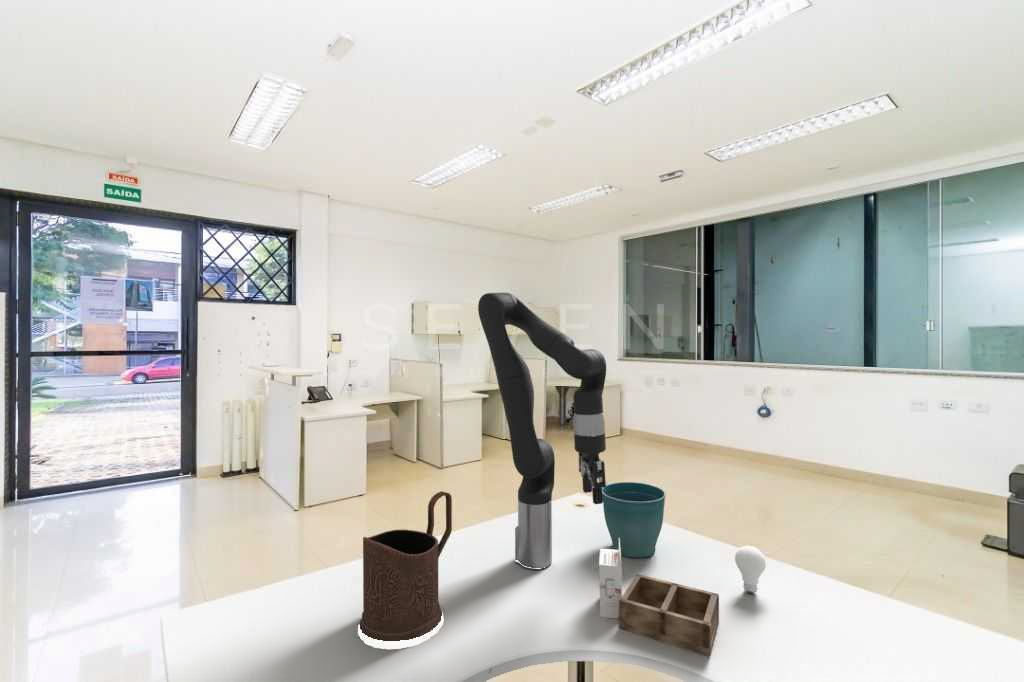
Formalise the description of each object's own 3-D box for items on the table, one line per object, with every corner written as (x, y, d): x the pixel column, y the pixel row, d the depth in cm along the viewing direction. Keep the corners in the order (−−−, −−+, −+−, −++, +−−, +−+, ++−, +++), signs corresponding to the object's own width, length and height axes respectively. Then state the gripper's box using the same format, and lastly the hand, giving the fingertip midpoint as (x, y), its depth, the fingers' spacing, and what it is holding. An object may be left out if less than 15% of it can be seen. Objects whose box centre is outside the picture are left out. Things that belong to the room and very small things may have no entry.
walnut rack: (618, 628, 100) (618, 600, 100) (635, 598, 112) (635, 573, 112) (710, 657, 91) (710, 625, 91) (718, 621, 102) (718, 594, 102)
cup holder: (338, 627, 101) (337, 510, 101) (423, 581, 120) (423, 482, 120) (395, 663, 90) (394, 531, 90) (479, 606, 109) (478, 497, 109)
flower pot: (600, 560, 131) (599, 499, 131) (602, 534, 148) (602, 479, 148) (668, 567, 127) (668, 503, 127) (662, 539, 144) (662, 483, 144)
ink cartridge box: (599, 596, 113) (599, 534, 113) (621, 599, 112) (620, 536, 112) (598, 617, 104) (598, 550, 104) (622, 620, 103) (621, 552, 103)
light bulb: (763, 588, 116) (763, 543, 116) (768, 602, 110) (768, 554, 110) (733, 583, 118) (733, 539, 118) (736, 597, 112) (736, 550, 112)
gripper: (567, 427, 123) (570, 490, 123) (582, 438, 108) (585, 509, 108) (595, 425, 124) (598, 487, 124) (614, 435, 109) (617, 506, 109)
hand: (592, 497), depth 116 cm, fingers open, 8 cm apart
